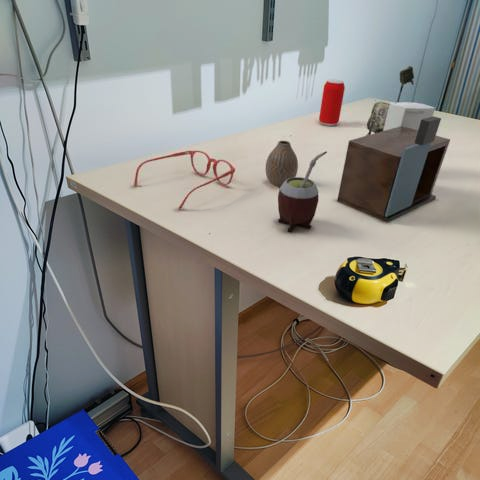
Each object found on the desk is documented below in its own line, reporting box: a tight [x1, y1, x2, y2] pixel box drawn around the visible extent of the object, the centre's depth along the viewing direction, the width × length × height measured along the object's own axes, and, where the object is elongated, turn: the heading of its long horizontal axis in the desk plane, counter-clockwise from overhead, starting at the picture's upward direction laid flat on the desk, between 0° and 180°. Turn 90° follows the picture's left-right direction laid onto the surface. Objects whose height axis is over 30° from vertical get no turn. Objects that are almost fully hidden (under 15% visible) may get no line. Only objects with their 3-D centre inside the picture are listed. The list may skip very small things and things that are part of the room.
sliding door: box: [385, 115, 442, 217], centre depth 76 cm, size 2×9×16 cm, turn 131°
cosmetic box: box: [383, 101, 436, 131], centre depth 97 cm, size 8×6×15 cm
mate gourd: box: [277, 150, 328, 233], centre depth 73 cm, size 8×8×15 cm
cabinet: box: [336, 126, 451, 224], centre depth 84 cm, size 12×18×12 cm
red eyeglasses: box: [133, 150, 236, 210], centre depth 87 cm, size 17×16×5 cm
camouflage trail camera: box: [365, 65, 415, 136], centre depth 105 cm, size 8×11×20 cm
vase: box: [265, 140, 299, 188], centre depth 90 cm, size 7×7×9 cm
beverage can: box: [318, 78, 346, 127], centre depth 128 cm, size 6×6×12 cm
